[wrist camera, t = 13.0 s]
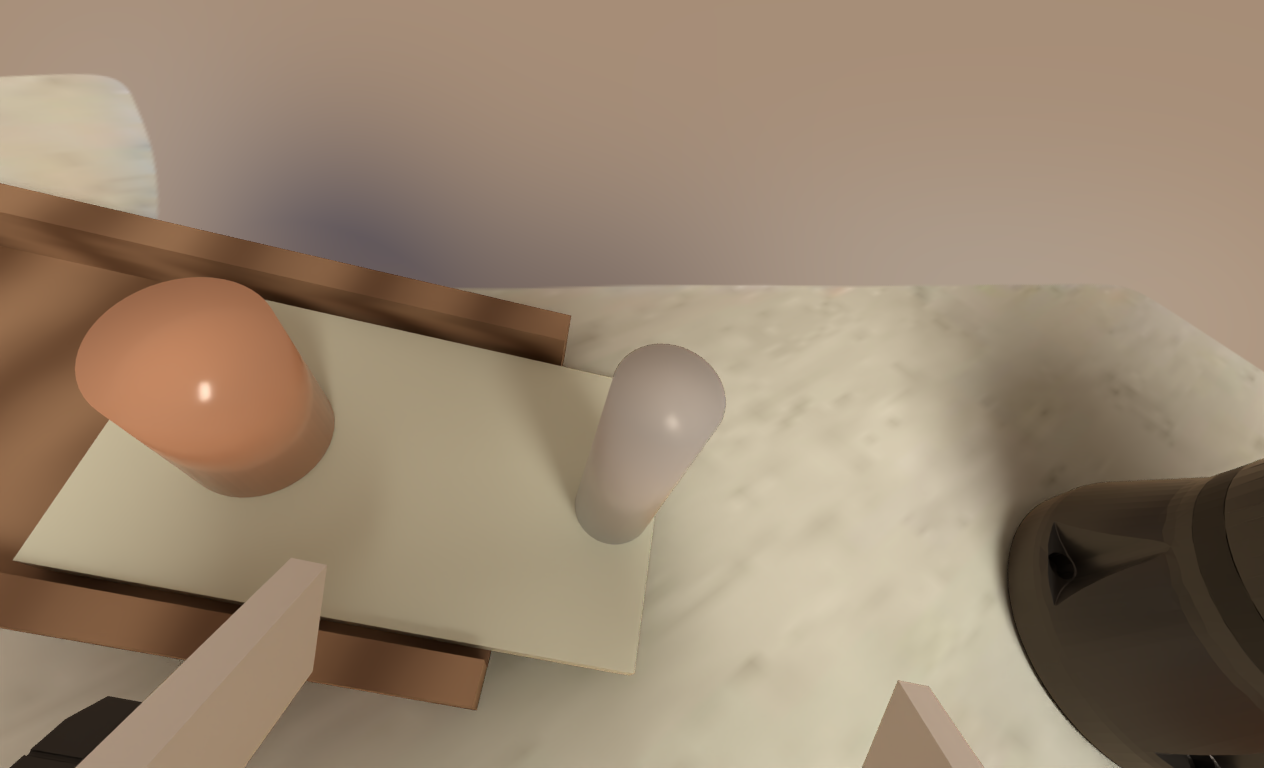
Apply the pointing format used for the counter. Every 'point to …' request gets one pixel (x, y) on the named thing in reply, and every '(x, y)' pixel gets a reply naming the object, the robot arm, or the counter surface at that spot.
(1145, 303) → the counter surface
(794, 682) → the counter surface
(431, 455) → the cream flat panel
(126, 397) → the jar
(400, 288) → the tray
